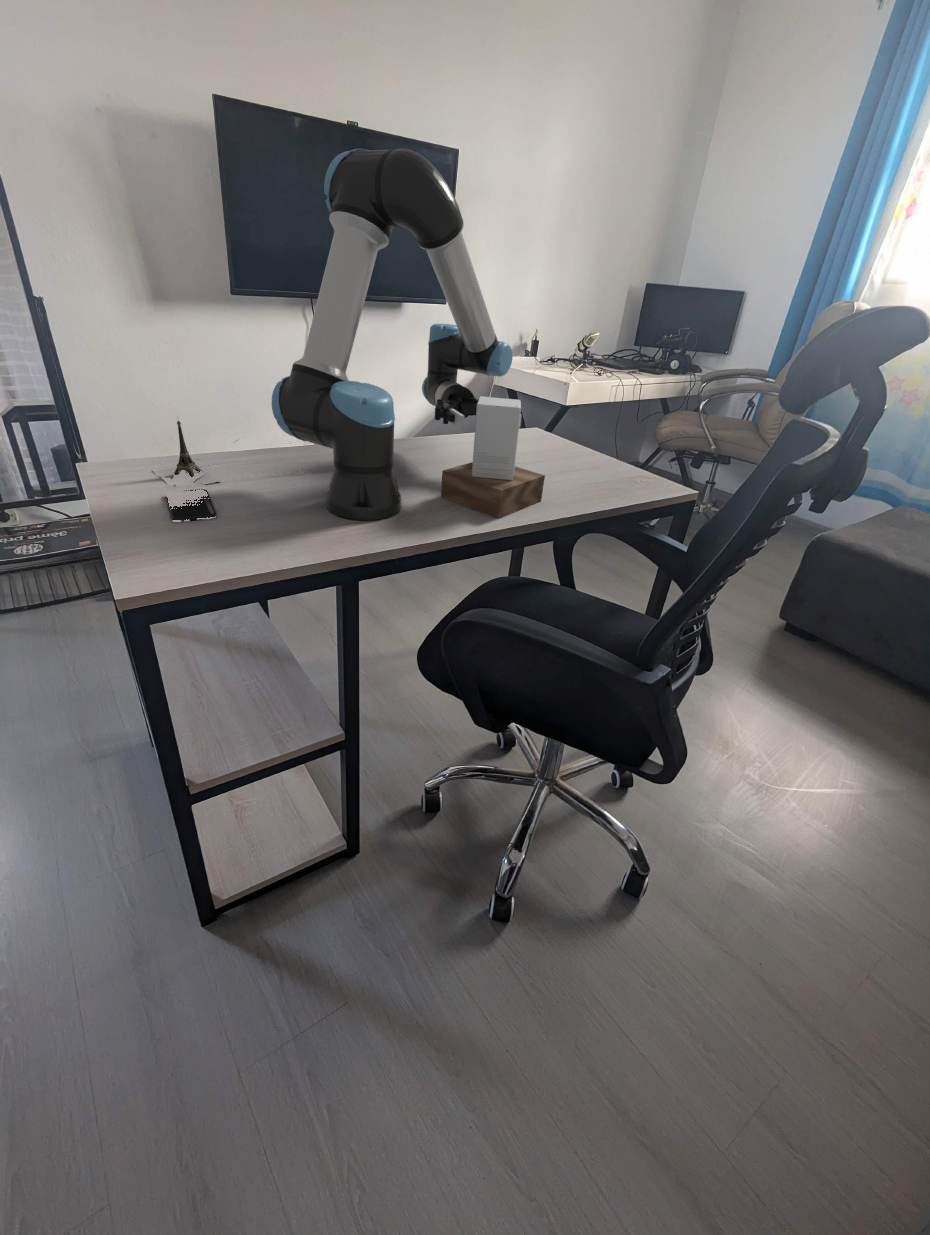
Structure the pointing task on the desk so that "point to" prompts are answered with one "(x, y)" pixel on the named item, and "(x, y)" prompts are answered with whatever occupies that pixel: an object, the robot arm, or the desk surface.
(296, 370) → the robot arm
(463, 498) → the walnut stand
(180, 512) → the phone
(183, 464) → the eiffel tower figurine
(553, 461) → the desk surface
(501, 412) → the supplement box
